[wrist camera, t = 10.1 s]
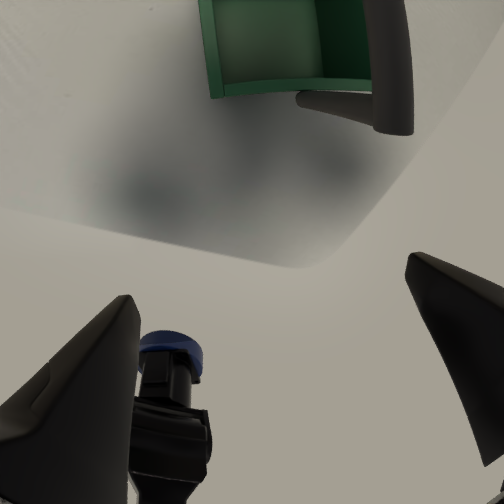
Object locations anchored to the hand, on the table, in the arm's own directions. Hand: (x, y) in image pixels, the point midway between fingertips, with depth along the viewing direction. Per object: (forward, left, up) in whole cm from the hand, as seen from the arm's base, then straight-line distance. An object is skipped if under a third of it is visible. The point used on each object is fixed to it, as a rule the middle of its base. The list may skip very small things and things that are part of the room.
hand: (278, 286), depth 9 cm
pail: (+9, +1, -5) cm, 10 cm away
